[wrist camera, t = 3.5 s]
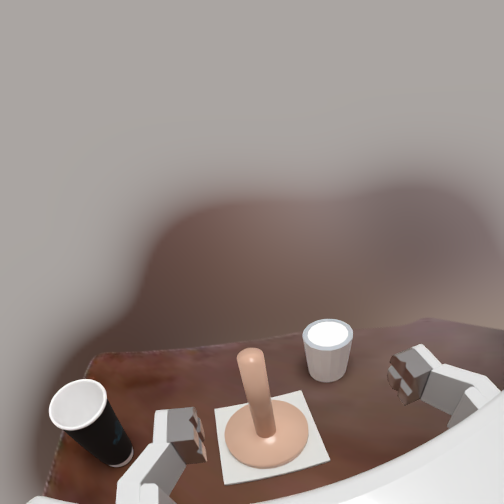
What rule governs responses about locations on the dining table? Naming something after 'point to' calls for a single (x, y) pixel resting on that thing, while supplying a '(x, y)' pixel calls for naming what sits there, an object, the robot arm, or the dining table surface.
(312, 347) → the white round tub
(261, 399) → the peg on round base
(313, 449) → the mat
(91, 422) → the dixie cup
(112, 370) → the dining table surface
